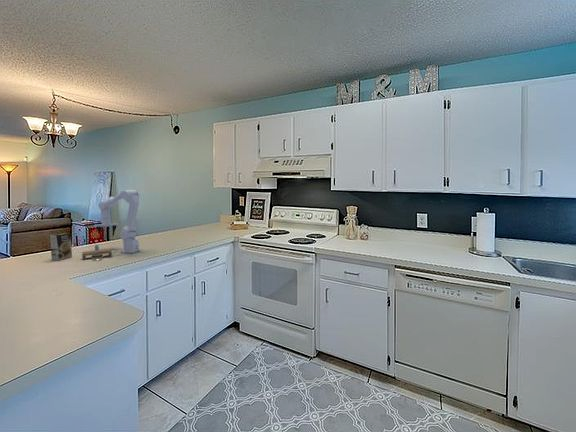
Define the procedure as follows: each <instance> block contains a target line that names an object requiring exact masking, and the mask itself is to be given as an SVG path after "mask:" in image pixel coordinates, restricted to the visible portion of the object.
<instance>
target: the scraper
mask: <svg viewBox="0 0 576 432" xmlns="http://www.w3.org/2000/svg"><path fill="white" fill-rule="evenodd" d="M97 250H100V249H99V244H98V243H96V244H94V251H97ZM96 258H102V260H103V259H104V254H98V255H91V260H92V261H93V259H96Z"/></svg>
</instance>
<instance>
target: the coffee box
mask: <svg viewBox="0 0 576 432" xmlns="http://www.w3.org/2000/svg"><path fill="white" fill-rule="evenodd" d="M71 236H72V235H71V232H61V233H54V234H49V239H50V253H51V260H53V261H62V260H67V259H69V258H73V251H72V237H71Z"/></svg>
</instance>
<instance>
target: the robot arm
mask: <svg viewBox="0 0 576 432" xmlns="http://www.w3.org/2000/svg"><path fill="white" fill-rule="evenodd" d="M139 198H140V192H139V191H138V190H137V189H123V190H121V191H120V192H119V193H117V195H115V196H108V198H107V199H105V200H104V201H100V202H99V203H98V209H99V210H100V218H101V219H100V220H101V224H100V223H99V224H94V228H95V229H96V231H97V232H98V234H99V237H100V238H102V233H101V232H102V230H101V228H108V227H109V228H110V227H112V228H111V229H112V237H114V235H115V231H116V228H117V227H119V223H117V222H115V223H112V222H111V220H112V219H111V211H112V207H113V206H115V205H117V204H118V202H119V201H121V200H124V201H125V202H126V203H127V204H128V205H129V206H128V209H127V210H128V211H127V214H126V215H127V216H126V221H125V225H124V226H123V227H122V228H121V231H120V233H119V237H120V239H121V240H122V246H123V247H122V248H123V250H122V251H121V253H124V254H127V253H128V254H133V253H137V252H139V251H141V249H140V242H139V240H138V239H136V237H137V235H138V232H137V227H136V226H135V224H136V220H137V214H138V210H139V205H140V203H139V202H140V201H139V200H140V199H139Z"/></svg>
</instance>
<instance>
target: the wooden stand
mask: <svg viewBox="0 0 576 432" xmlns="http://www.w3.org/2000/svg"><path fill="white" fill-rule="evenodd" d="M98 254H103V255H106V254H107V255H108V257H109V258H111V257H112V255H113V252H112V249H111V248H109V249H99V250H97V251H95V250H89V251H82V253H81V256H82V260H83V261H85V260H86V258H87V256H88V257H89V256H92V255H98Z"/></svg>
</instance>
